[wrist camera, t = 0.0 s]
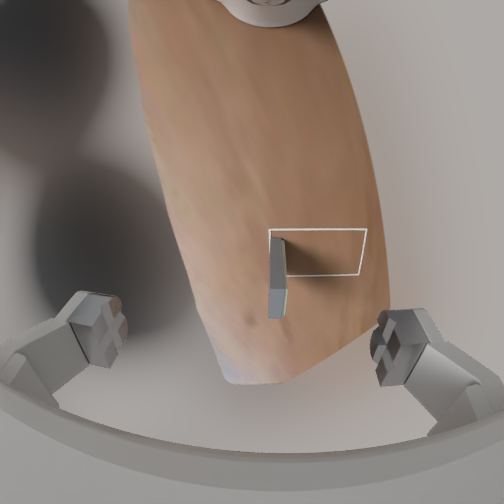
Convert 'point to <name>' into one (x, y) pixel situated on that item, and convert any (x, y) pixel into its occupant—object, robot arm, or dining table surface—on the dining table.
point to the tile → (277, 279)
